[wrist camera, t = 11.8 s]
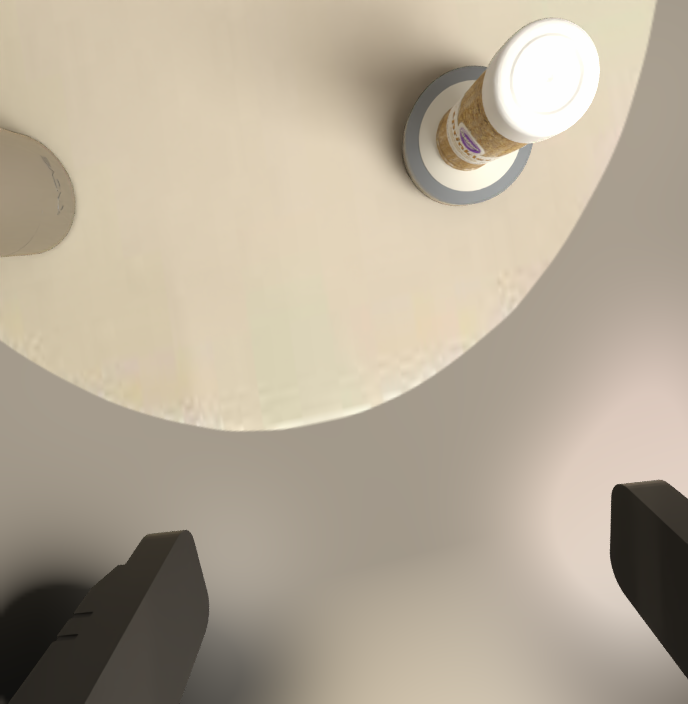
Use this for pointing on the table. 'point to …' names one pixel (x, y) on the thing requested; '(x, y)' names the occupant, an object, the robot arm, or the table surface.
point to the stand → (427, 161)
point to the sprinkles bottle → (522, 95)
